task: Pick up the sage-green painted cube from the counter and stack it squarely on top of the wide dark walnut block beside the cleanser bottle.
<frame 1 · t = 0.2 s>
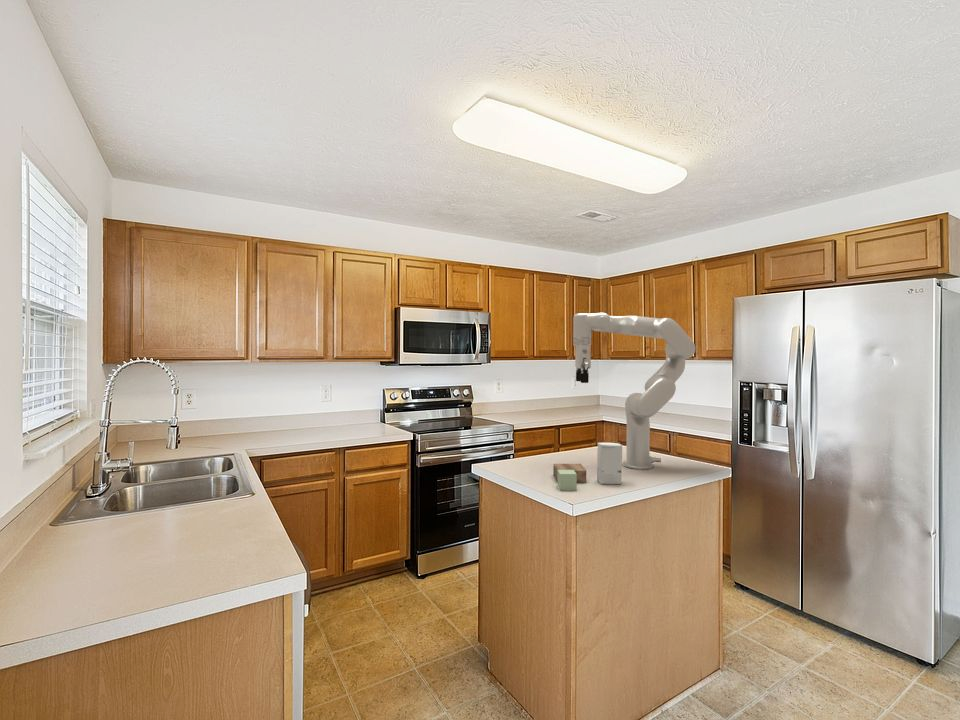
hand: (582, 382, 207), 37 cm above the countertop, tool pointing down, fingers open, 9 cm apart
skincare box: (609, 482, 184), on the countertop
walnut block: (569, 479, 188), on the countertop
sage cube: (566, 488, 176), on the countertop
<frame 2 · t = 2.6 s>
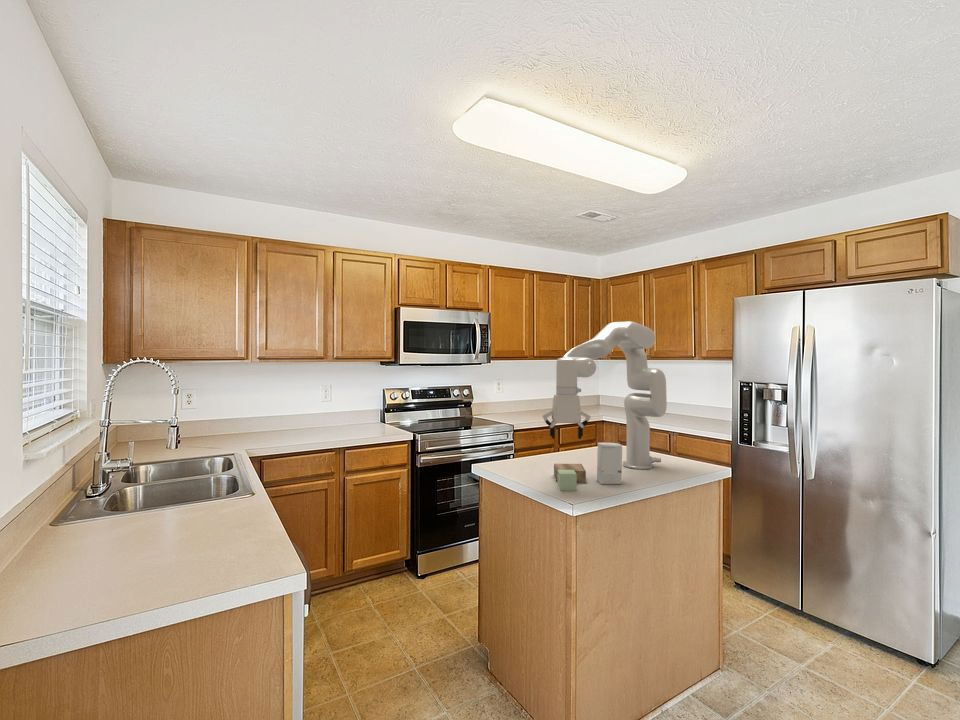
hand: (566, 438, 176), 18 cm above the countertop, tool pointing down, fingers open, 9 cm apart
nothing on the countertop moved.
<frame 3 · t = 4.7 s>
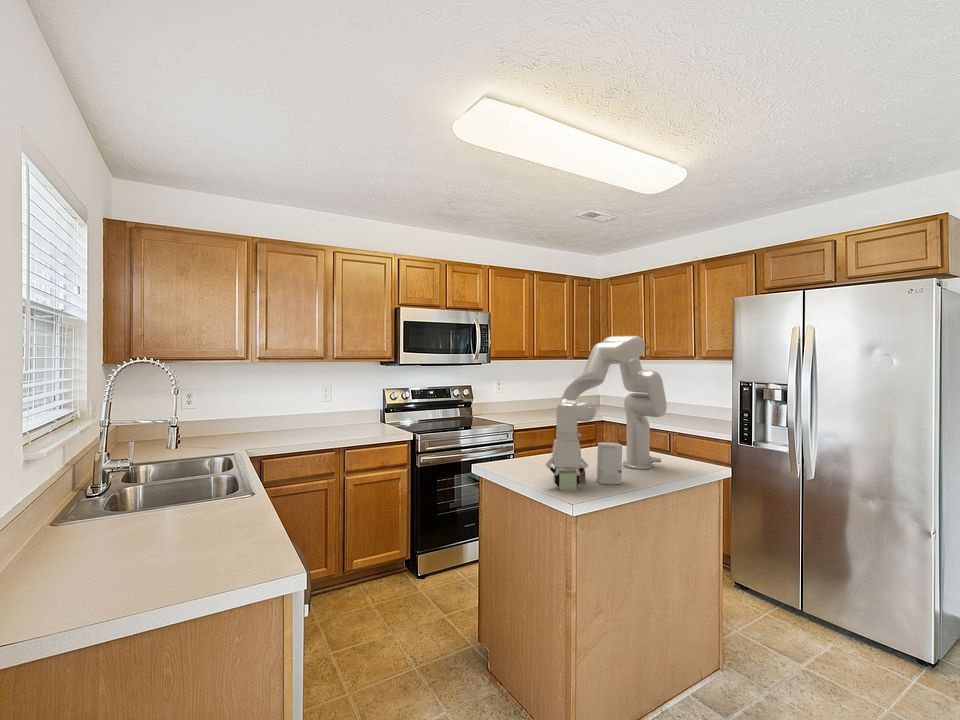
hand: (566, 484, 176), 1 cm above the countertop, tool pointing down, fingers closed on sage cube, 6 cm apart
sage cube: (566, 487, 176), on the countertop, touching gripper
everything else where it was.
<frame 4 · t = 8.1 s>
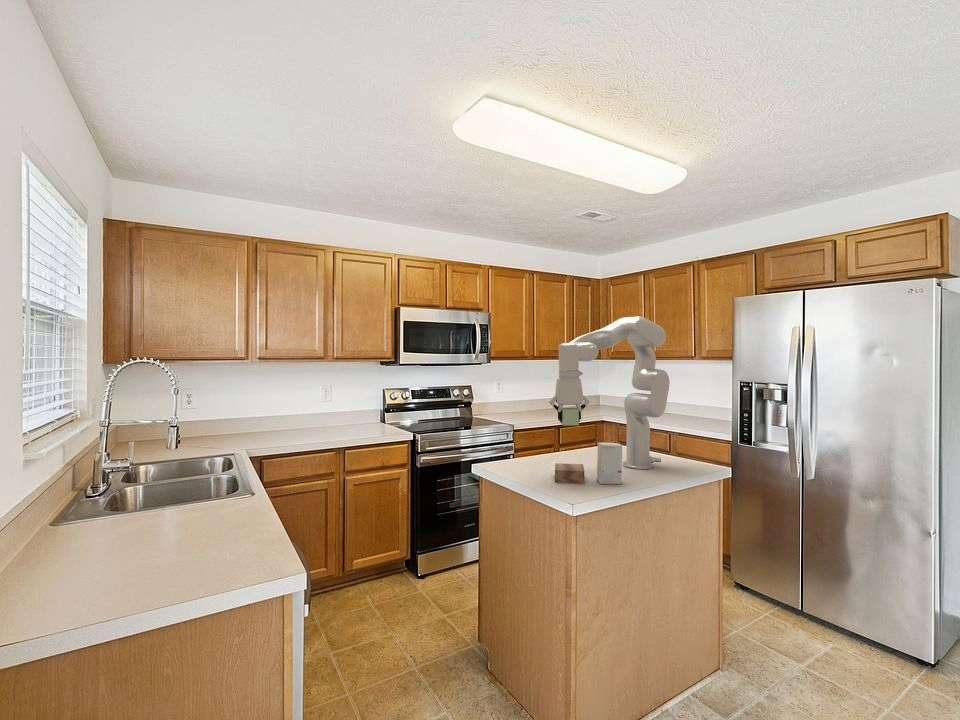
hand: (569, 421, 186), 23 cm above the countertop, tool pointing down, fingers closed on sage cube, 6 cm apart
sage cube: (569, 424, 186), point 22 cm above the countertop, touching gripper
everything else where it was.
when the fingers open (7 cm above the countertop, at t = 11.8 s): sage cube drops 2 cm, resting on walnut block.
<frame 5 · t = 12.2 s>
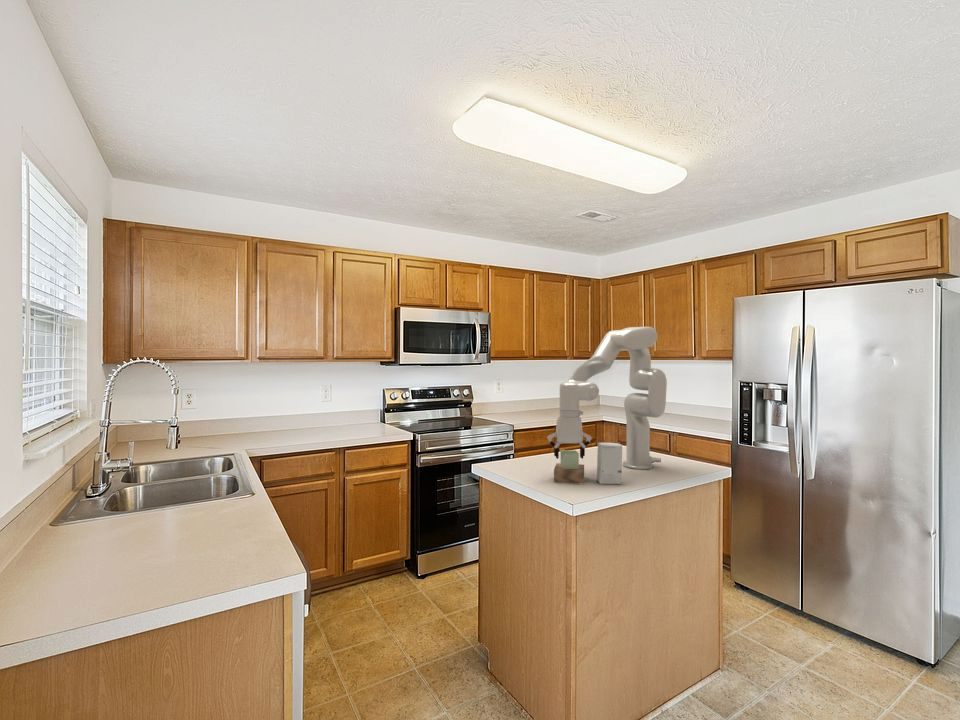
hand: (569, 457, 188), 8 cm above the countertop, tool pointing down, fingers open, 9 cm apart
walnut block: (569, 479, 188), on the countertop, touching sage cube
sage cube: (569, 467, 188), point 5 cm above the countertop, touching walnut block
everything else where it was.
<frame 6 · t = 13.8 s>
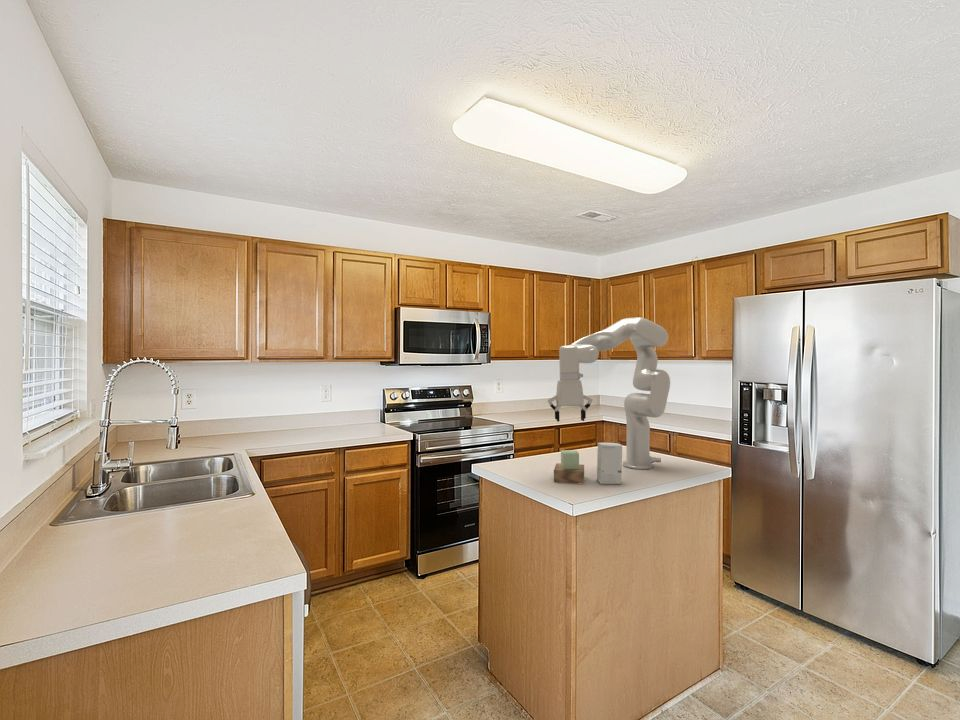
hand: (570, 420, 188), 23 cm above the countertop, tool pointing down, fingers open, 9 cm apart
nothing on the countertop moved.
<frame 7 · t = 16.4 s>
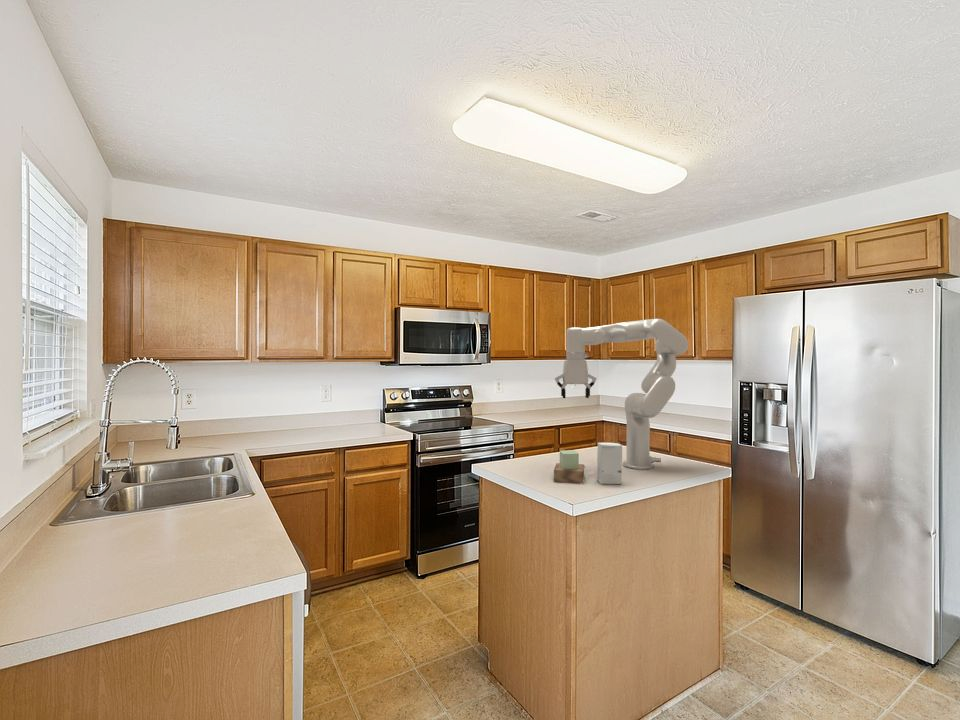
hand: (575, 397, 201), 30 cm above the countertop, tool pointing down, fingers open, 9 cm apart
nothing on the countertop moved.
at the end: sage cube 0.5 cm off-centre on the walnut block, point 5.0 cm above the walnut block's base; sage cube tilted 1°; the gripper is holding nothing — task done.
